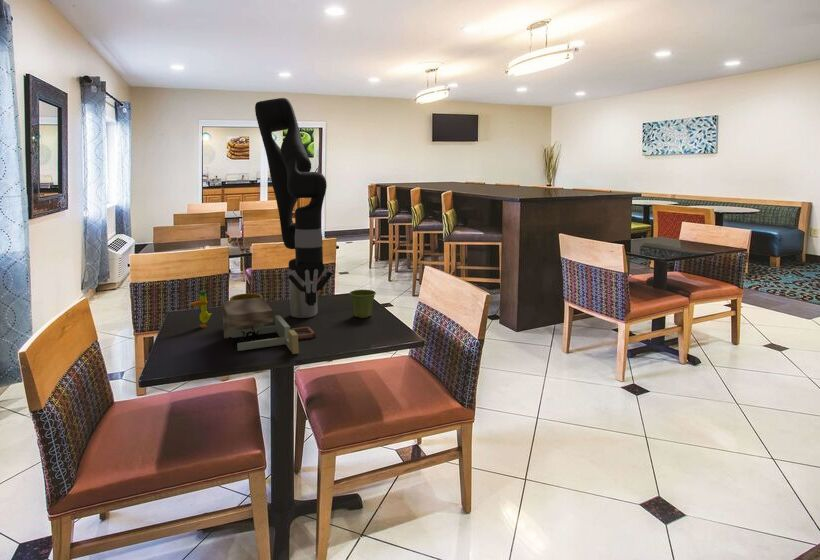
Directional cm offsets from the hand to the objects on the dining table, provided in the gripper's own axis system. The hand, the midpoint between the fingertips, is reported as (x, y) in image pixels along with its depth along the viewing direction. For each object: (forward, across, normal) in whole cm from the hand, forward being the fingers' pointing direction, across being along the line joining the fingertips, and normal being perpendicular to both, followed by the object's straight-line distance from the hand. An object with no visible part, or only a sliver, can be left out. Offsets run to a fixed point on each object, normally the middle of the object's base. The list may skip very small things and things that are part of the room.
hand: (310, 305), depth 142 cm
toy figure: (+13, +27, -37) cm, 48 cm away
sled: (+13, +12, -9) cm, 20 cm away
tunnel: (+13, +16, -14) cm, 25 cm away
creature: (+14, +17, -13) cm, 25 cm away
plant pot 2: (+13, -26, -27) cm, 40 cm away
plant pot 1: (+13, +13, -33) cm, 38 cm away
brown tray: (+13, 0, -14) cm, 19 cm away
